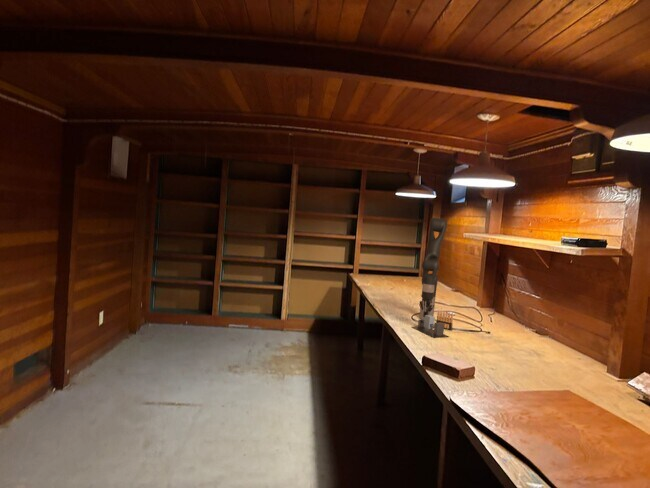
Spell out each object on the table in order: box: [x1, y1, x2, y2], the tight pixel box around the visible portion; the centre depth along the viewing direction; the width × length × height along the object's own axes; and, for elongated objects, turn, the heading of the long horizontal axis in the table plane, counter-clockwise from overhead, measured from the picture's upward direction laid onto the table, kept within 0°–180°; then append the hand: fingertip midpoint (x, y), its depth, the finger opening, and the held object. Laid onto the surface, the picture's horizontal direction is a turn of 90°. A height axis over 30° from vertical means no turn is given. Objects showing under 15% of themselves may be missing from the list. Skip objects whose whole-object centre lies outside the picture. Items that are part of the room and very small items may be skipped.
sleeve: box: [424, 315, 436, 330], centre depth 256 cm, size 5×4×8 cm
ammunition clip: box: [435, 309, 454, 332], centre depth 266 cm, size 11×2×12 cm, turn 58°
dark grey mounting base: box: [411, 319, 450, 339], centre depth 255 cm, size 23×12×8 cm, turn 23°
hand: (425, 317), depth 260 cm, fingers closed
